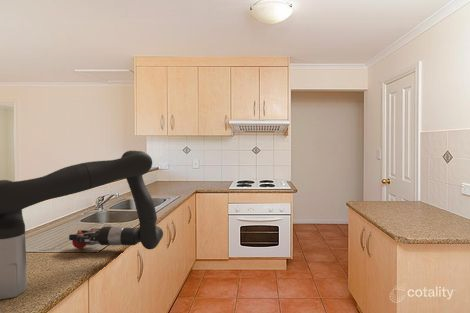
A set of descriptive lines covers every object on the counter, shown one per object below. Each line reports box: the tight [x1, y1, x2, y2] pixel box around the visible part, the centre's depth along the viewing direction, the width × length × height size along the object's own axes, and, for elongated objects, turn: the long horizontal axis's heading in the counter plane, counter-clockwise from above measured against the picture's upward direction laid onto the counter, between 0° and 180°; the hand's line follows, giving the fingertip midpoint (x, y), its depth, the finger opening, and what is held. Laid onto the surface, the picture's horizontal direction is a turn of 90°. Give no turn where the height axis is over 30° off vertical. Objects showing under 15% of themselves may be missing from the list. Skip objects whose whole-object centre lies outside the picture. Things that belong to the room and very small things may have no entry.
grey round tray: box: [88, 241, 100, 245], centre depth 146 cm, size 10×10×2 cm
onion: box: [71, 230, 88, 251], centre depth 133 cm, size 6×6×8 cm
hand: (74, 235), depth 133 cm, fingers closed on onion, 5 cm apart
